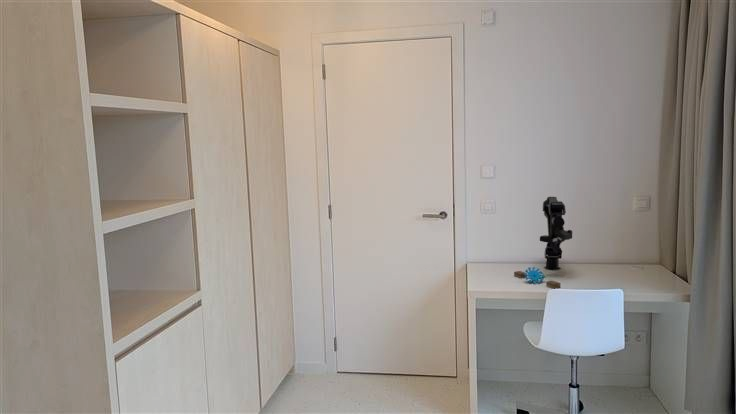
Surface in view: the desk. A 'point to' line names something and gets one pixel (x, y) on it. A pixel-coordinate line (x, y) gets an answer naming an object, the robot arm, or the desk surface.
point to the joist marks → (549, 283)
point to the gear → (534, 275)
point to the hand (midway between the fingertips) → (555, 252)
